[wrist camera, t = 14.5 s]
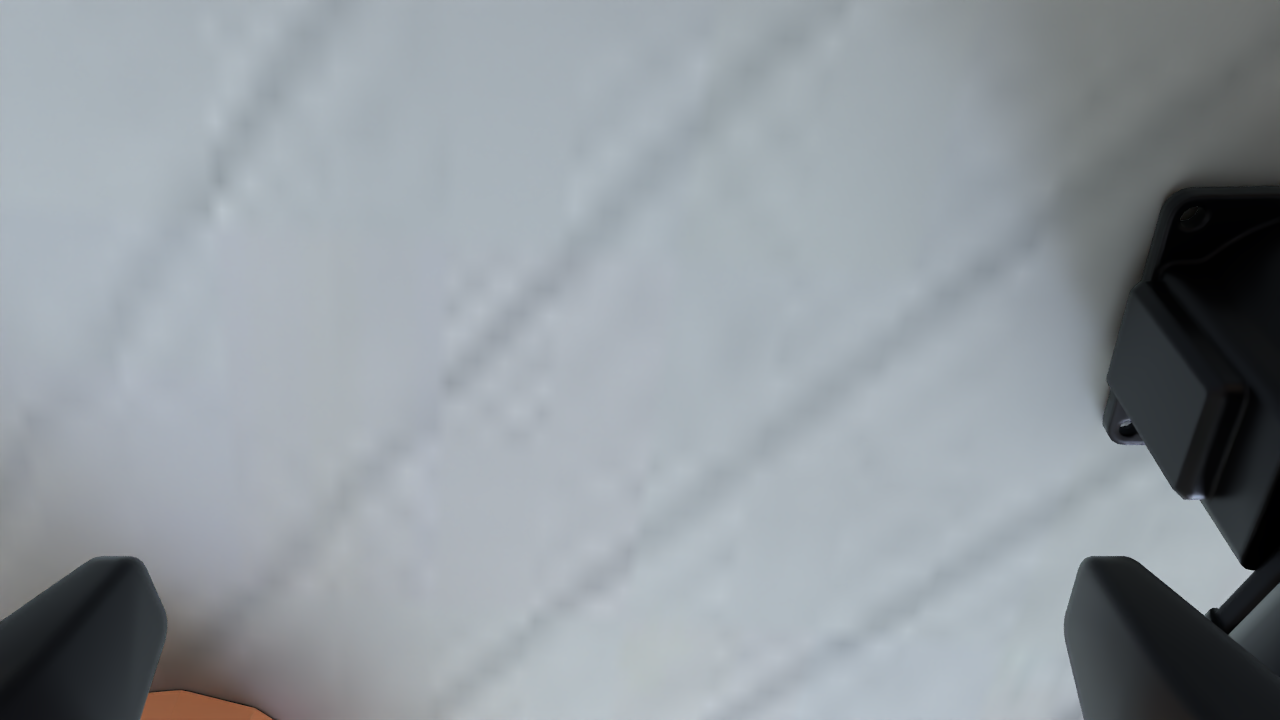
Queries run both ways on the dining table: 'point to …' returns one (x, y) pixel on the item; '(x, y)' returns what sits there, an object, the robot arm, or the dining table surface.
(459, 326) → the dining table surface
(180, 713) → the potted cactus
